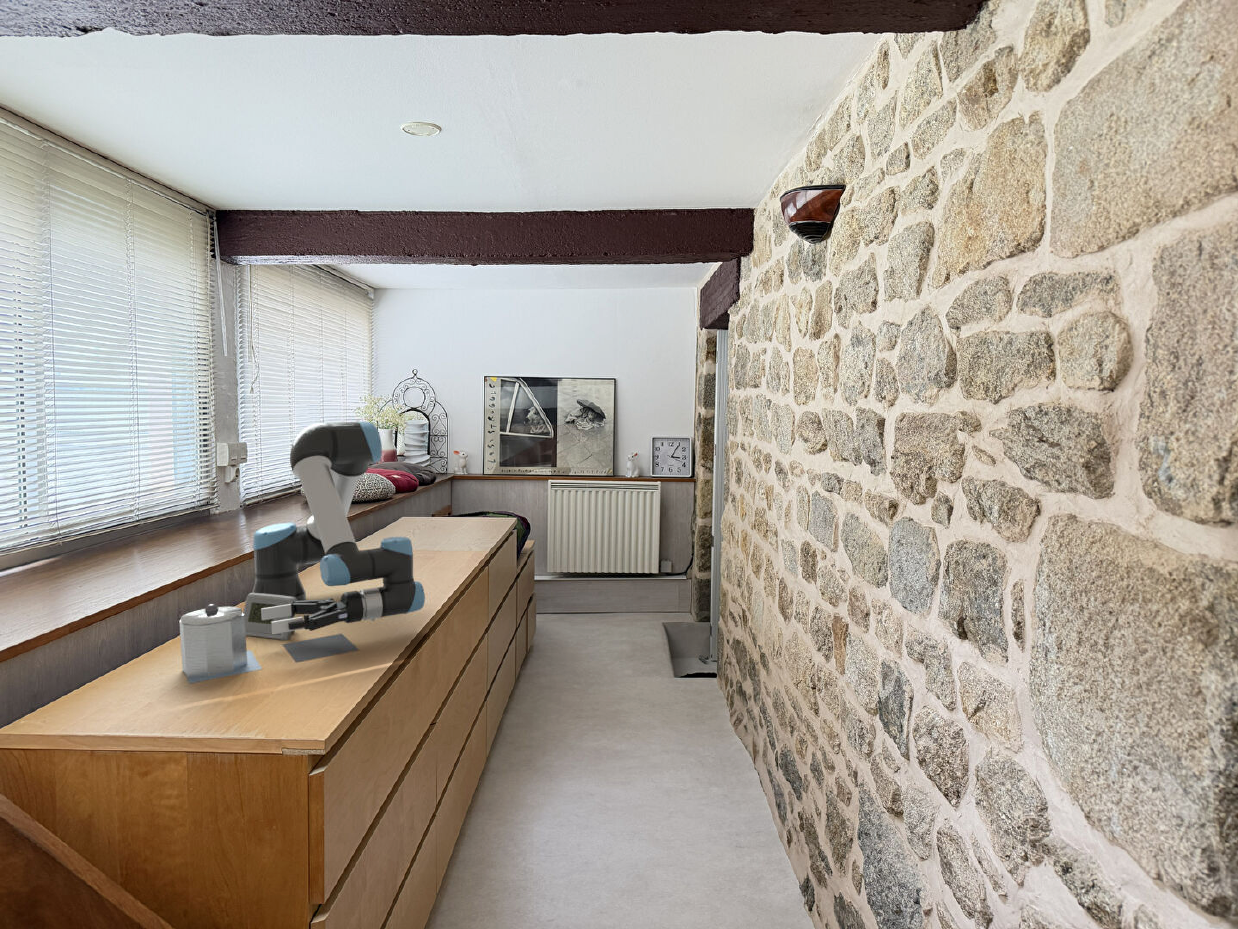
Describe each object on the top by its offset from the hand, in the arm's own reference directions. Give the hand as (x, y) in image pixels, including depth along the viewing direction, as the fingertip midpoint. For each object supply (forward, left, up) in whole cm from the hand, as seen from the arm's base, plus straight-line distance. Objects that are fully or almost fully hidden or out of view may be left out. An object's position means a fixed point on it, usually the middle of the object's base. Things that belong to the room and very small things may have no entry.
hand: (266, 621), depth 173 cm
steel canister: (0, -11, -8) cm, 14 cm away
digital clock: (-19, +3, -9) cm, 22 cm away
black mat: (0, +11, -9) cm, 15 cm away
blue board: (0, -10, -9) cm, 13 cm away
